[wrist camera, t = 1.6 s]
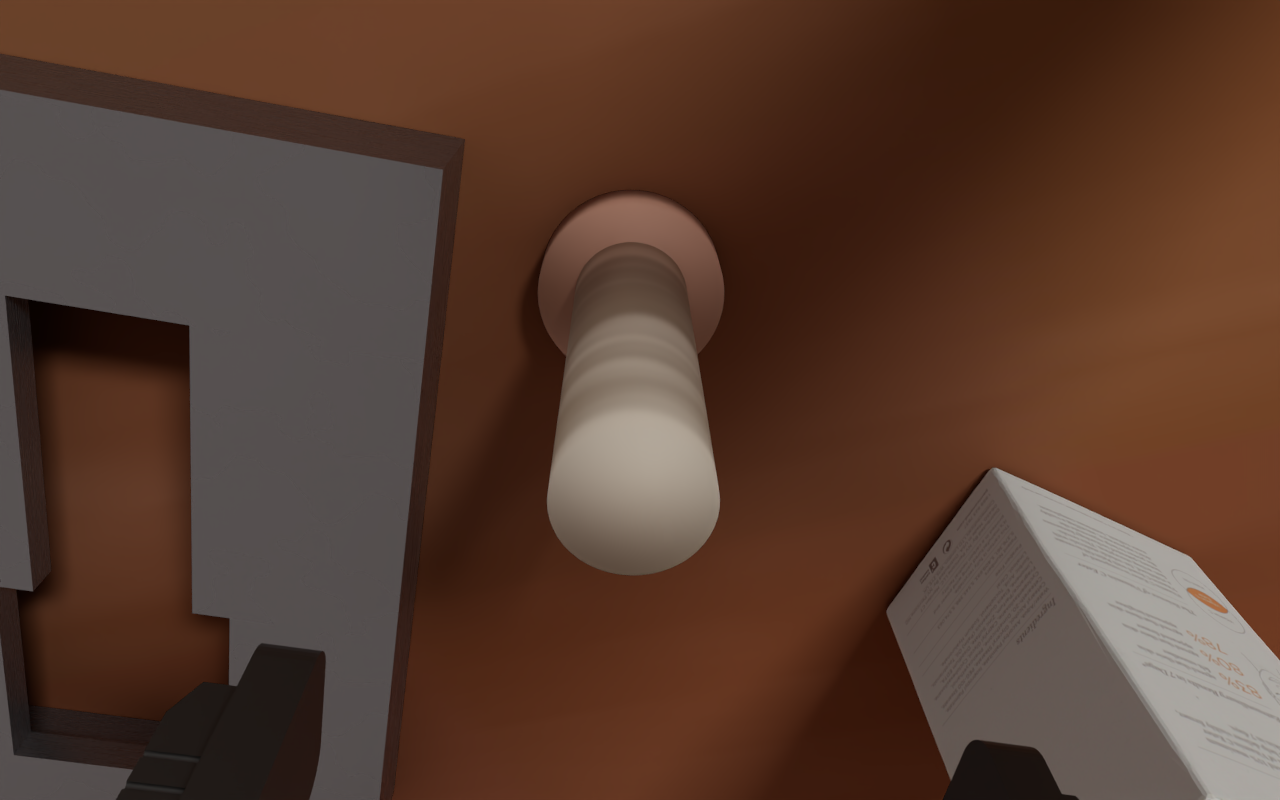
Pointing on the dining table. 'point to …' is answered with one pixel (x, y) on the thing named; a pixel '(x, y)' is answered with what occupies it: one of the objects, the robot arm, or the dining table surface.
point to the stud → (632, 381)
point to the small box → (1087, 653)
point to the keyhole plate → (236, 381)
